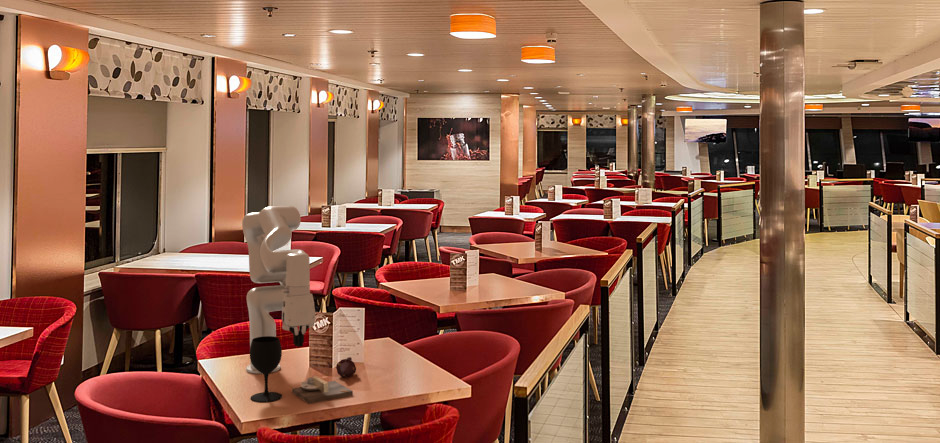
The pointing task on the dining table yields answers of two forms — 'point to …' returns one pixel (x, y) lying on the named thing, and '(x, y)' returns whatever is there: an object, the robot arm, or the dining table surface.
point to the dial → (314, 384)
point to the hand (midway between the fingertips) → (298, 345)
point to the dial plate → (323, 393)
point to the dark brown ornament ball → (346, 367)
